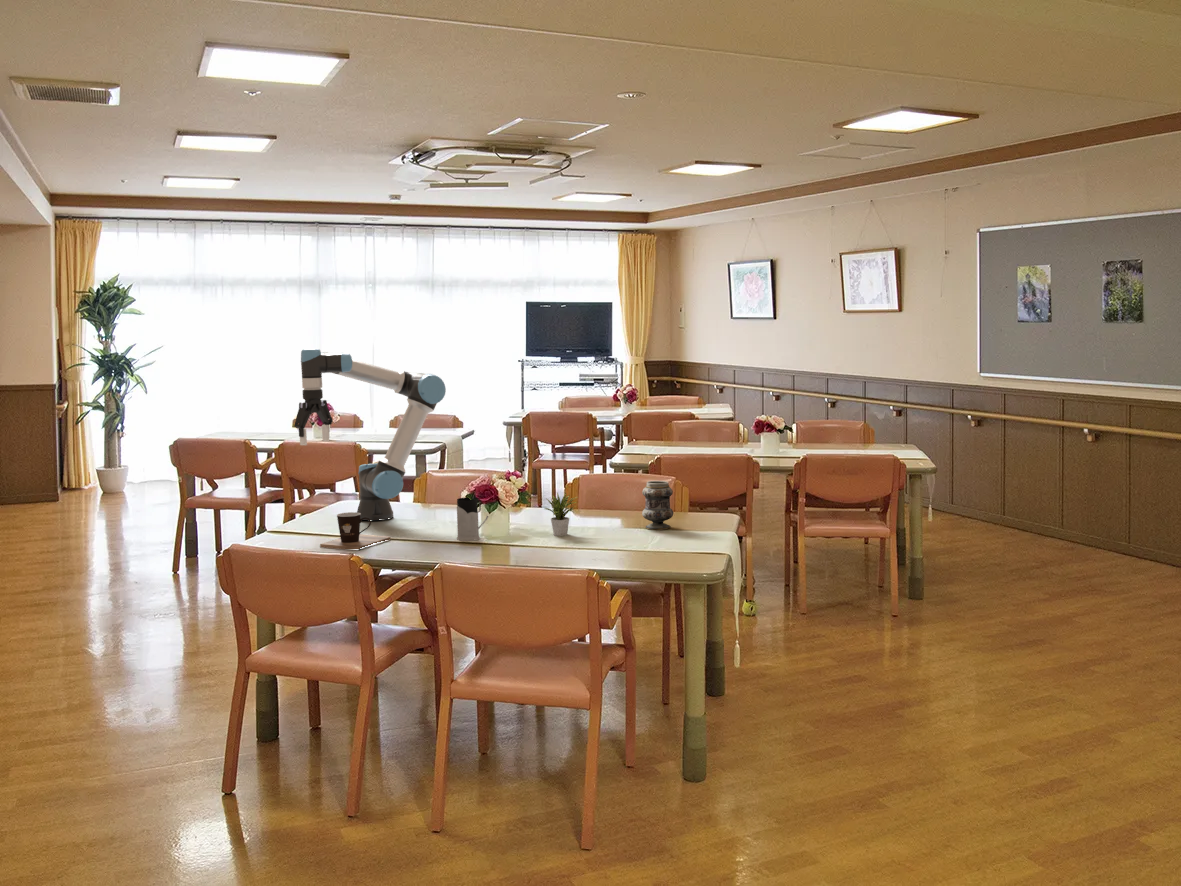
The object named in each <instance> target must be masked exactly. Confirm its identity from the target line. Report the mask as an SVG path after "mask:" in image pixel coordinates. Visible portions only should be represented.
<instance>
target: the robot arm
mask: <svg viewBox="0 0 1181 886" xmlns="http://www.w3.org/2000/svg"><path fill="white" fill-rule="evenodd" d="M300 366H301V367H300V368H301V383H302V384H301V385H302V386H301V387H302V399H303V400H304V402H299V404H298V411H297V414H296V419H295V421H294V428H295V429H297V430H298V437H299V446H308V440H307V428H305V427H306V425H307V424H308V421H309V419H310V417H311V415H313V414H317V416H318V418H319V419H320V420H321V422H322V425H321V431H322V435H321V437H322V442H330V425H332V423H334V422H333V421H334V420H333V418H332V414H331V412H330V410H329V407H328V400H326V399H323V398H324V397H323V396H324V395H323V389H322V388H323V378H322V377H323V375H322V374H326V373H327V374H334V375H339V376H342V377H345V378H350V379H354V380H357V381H360V382H364V383H367V384H372V385H376V386H378V387H383V388H386V389H390V390H392V391H393V390H394V393H396V394H399V395H403V396H405V397H407V399H406V400H407V404H408V406H407V408H406V410H405V413H404V415H403V416H402V419H401V421H400V423H399V424H398V427H397V429H396V431H395V434H394V436H393V439H392V440H391V443H390V445H389V447H388V449H387V451H386V454H385V456H384V458H381V459H379V460H378V462H377V463H367V464H366V463H364V464H361V465H359V466H358V472H357V473H358V483H359V484H358V485H359V486H358V487H359V504H358V507H357V511H356V512H357V513H361V518H360V519H362V518H364V517H366V518H369V519H370V520H379V519H388V518H392V517H393V518H394V510H393V508H392V506H391V502H390V500H389V499H393V498H396V497H397V496H399V494H401V492H402V491H403V487H404V476H405V474H406V469H405V466H406V463H407V461H408V459H409V456H410V454H411V452H412V450H413V448H414V445H415V443H416V441H417V439H418V436H419V434H420V432H421V430H422V428H423V426H424V424H425V421H426V420H427V417H428V414H430V413H432V412H434V411H435V409H436V406H437V404H438V403H440V402H441V401H442V400H443V399H444V398H445V396H446V385H445V382H444V380H443V379H442V378H441V377H440V376H438V375H435V374H433V373H424V372H423V373H422V372H421V373H420V372H408V371H405V370H399V371H395V370H393V369H389V368H385V367H381V366H377V365H374V364H370V363H366V362H364V361H359V360H356V359H353V358H352V356H351V354H350V353H348V352H328V351H327V352H326V351H324V352H321V349H320V348H305V349H302V350H301V351H300ZM393 518H392V519H393ZM363 520H367V519H363ZM388 520H389V519H388Z"/></svg>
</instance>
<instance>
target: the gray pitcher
mask: <svg viewBox="0 0 1181 886" xmlns="http://www.w3.org/2000/svg"><path fill="white" fill-rule="evenodd" d="M481 511H482V504H481V505H480V504H479V508H478V498H477V499H476V500H470V499H469V498H468V497H459V498H457V500H456V519H457V520H456V521H457V522H456V524H457V526H456V527H457V537H456V540H457V541H461V542H462V541H463V542H470V541H471V542H472V541H477V540H480V539H481V537H480V534H479V530H480V529H481V528H482V526H483V525H484V524H485V523H486V521H487V520H488V518H489V516H487V515H486V517H485V519H484V520H483V521H482V522H481V524H480V525H479V513H480V512H481Z"/></svg>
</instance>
